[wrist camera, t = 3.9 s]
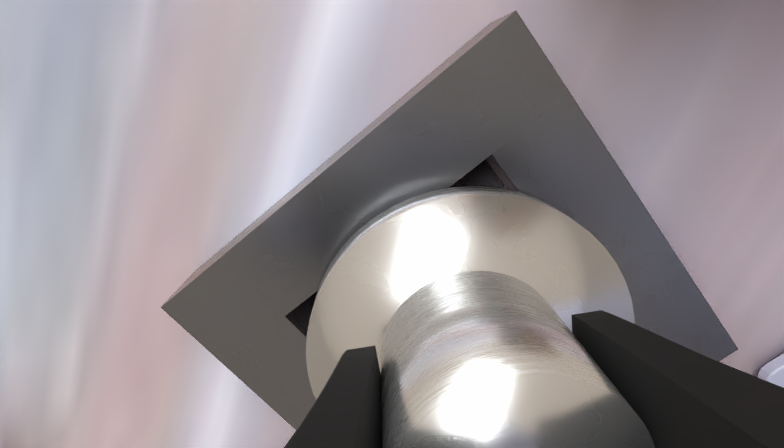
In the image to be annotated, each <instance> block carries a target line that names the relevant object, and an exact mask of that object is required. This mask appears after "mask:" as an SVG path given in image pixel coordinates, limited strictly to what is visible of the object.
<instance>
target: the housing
mask: <svg viewBox="0 0 784 448" xmlns="http://www.w3.org/2000/svg"><path fill="white" fill-rule="evenodd" d="M484 160H486V161H487V163H488V164H489V165H490V167H491V168H492V169H493V171H494V172H495V173H496V175H497V176H498V177H499V179H500V180H501V181H502V183H503V184H504V185H505V187H506V188H507V189H508V190H512V191H516V192H520V193H523V194H526V195H529V196H531V197H534V198H537V199H540V200H541V201H543V202H545V203H547V204H549V205H551V206H553V207H555V208H556V209H558V210H560V211H561V212H562V213H564V214H565V215H567V216H568V217H570V218H571V219H573V220H574V221H575V222H577V223H578V224H579V225H581V226H582V227H584V228H585V229H586V230H588V231H589V232H590V233H591V234H592V235H593V236H594V237H595V238H596V239H597V240H598V241H599V242H600V243H601V244H602V245H603V246H604V247H605V248H606V249H607V251H608V252H609V254H610V255H611V256H612V258H613V259H614V260H615V262H616V263H617V265H618V267H619V269H620V271H621V273H622V275H623V277H624V279H625V281H626V284H627V287H628V290H629V293H630V296H631V299H632V305H633V311H634V317H635V324H636V325H638V326H640V327H642V328H644V329H647V330H649V331H651V332H653V333H655V334H658V335H660V336H662V337H664V338H666V339H668V340H671V341H673V342H675V343H677V344H679V345H682V346H684V347H686V348H688V349H691V350H693V351H695V352H697V353H700V354H702V355H704V356H707V357H709V358H711V359H713V360H716V361H718V362H719V361H720V360H722V359H723V358H725V357H727V356H728V355H730V354H731V353H733V352H734V351H736V350H738V348H737V347H736V345H735V344H734V342H733V340H732V339H731V337H730V336H729V334H728V333H727V331H726V330H725V328H724V327H723V325H722V324H721V322H720V321H719V319H718V318H717V316H716V315H715V313H714V312H713V310H712V308H711V307H710V305H709V304H708V302H707V301H706V299H705V298H704V296H703V295H702V293H701V292H700V290H699V289H698V287H697V286H696V284H695V283H694V281H693V280H692V278H691V276H690V275H689V273H688V272H687V270H686V269H685V267H684V266H683V264H682V263H681V261H680V260H679V258H678V257H677V255H676V254H675V252H674V251H673V249H672V248H671V246H670V244H669V243H668V241H667V240H666V238H665V237H664V235H663V234H662V232H661V231H660V229H659V228H658V226H657V225H656V223H655V222H654V220H653V219H652V217H651V216H650V214H649V212H648V211H647V209H646V208H645V206H644V205H643V203H642V202H641V200H640V199H639V197H638V196H637V194H636V193H635V191H634V190H633V188H632V187H631V185H630V184H629V182H628V180H627V179H626V177H625V176H624V174H623V173H622V171H621V170H620V168H619V167H618V165H617V164H616V162H615V161H614V159H613V158H612V156H611V155H610V153H609V152H608V150H607V148H606V147H605V145H604V144H603V142H602V141H601V139H600V138H599V136H598V135H597V133H596V132H595V130H594V129H593V127H592V126H591V124H590V123H589V121H588V120H587V118H586V116H585V115H584V113H583V112H582V110H581V109H580V107H579V106H578V104H577V103H576V101H575V100H574V98H573V97H572V95H571V94H570V92H569V91H568V89H567V88H566V86H565V84H564V83H563V81H562V80H561V78H560V77H559V75H558V74H557V72H556V71H555V69H554V68H553V66H552V65H551V63H550V62H549V60H548V59H547V57H546V56H545V54H544V52H543V51H542V49H541V48H540V46H539V45H538V43H537V42H536V40H535V39H534V37H533V36H532V34H531V33H530V31H529V30H528V28H527V27H526V25H525V24H524V22H523V20H522V19H521V17H520V16H519V14H518V13H517V11H514V12H512V13H510V14H508V15H506V16H504V17H502V18H500V19H498V20H496V21H494V22H492V23H490V24H489V25H488V26H487V27H485V28H484V29H483V30H482V31H481V32H480V33H478V34H477V35H476V36H475V37H474V38H472V39H471V40H470V41H469V42H468V43H466V44H465V45H464V46H463V47H462V48H460V49H459V50H458V51H457V52H456V53H455V54H453V55H452V56H451V57H450V58H449V59H447V60H446V61H445V62H444V63H443V64H441V65H440V66H439V67H438V68H437V69H435V70H434V71H433V72H432V73H431V74H430V75H428V76H427V77H426V78H425V79H424V80H422V81H421V82H420V83H419V84H418V85H416V86H415V87H414V88H413V89H412V90H410V91H409V92H408V93H407V94H406V95H405V96H403V97H402V98H401V99H400V100H399V101H397V102H396V103H395V104H394V105H393V106H391V107H390V108H389V109H388V110H387V111H385V112H384V113H383V114H382V115H381V116H379V117H378V118H377V119H376V120H375V121H374V122H372V123H371V124H370V125H369V126H368V127H366V128H365V129H364V130H363V131H362V132H360V133H359V134H358V135H357V136H356V137H354V138H353V139H352V140H351V141H350V142H349V143H347V144H346V145H345V146H344V147H343V148H341V149H340V150H339V151H338V152H337V153H335V154H334V155H333V156H332V157H331V158H329V159H328V160H327V161H326V162H325V163H324V164H322V165H321V166H320V167H319V168H318V169H316V170H315V171H314V172H313V173H312V174H310V175H309V176H308V177H307V178H306V179H304V180H303V181H302V182H301V183H300V184H299V185H297V186H296V187H295V188H294V189H293V190H291V191H290V192H289V193H288V194H287V195H285V196H284V197H283V198H282V199H281V200H279V201H278V202H277V203H276V204H275V205H274V206H272V207H271V208H270V209H269V210H268V211H266V212H265V213H264V214H263V215H262V216H260V217H259V218H258V219H257V220H256V221H254V222H253V223H252V224H251V225H250V226H248V227H247V228H246V229H245V230H244V231H243V232H241V233H240V234H239V235H238V236H237V237H235V238H234V239H233V240H232V241H231V242H229V243H228V244H227V245H226V246H225V247H223V248H222V249H221V250H220V251H219V252H218V253H216V254H215V255H214V256H213V257H212V258H210V259H209V260H208V261H207V262H206V263H204V264H203V265H202V266H201V267H200V268H198V269H197V270H196V271H195V272H194V273H193V274H192V275H191V276H190V277H189V278H188V279H187V280H186V281H185V282H184V283H183V284H182V285H181V286H180V288H179V289H178V290H177V291H176V292H175V293H174V294H173V295H172V296H171V297H170V298H169V299H168V300H167V301H166V302H165V303H164V305H163V306H162V307H161V308H162V309H163V310H164V311H165V312H166V313H168V314H169V315H170V316H171V317H172V318H173V319H174V320H175V321H176V322H177V323H179V324H180V325H181V326H182V327H183V328H184V329H185V330H186V331H187V332H189V333H190V334H191V335H192V336H193V337H194V338H195V339H196V340H197V341H198V342H200V343H201V344H202V345H203V346H204V347H205V348H206V349H207V350H208V351H210V352H211V353H212V354H213V355H214V356H215V357H216V358H217V359H218V360H219V361H221V362H222V363H223V364H224V365H225V366H226V367H227V368H228V369H229V370H230V371H232V372H233V373H234V374H235V375H236V376H237V377H238V378H239V379H240V380H242V381H243V382H244V383H245V384H246V385H247V386H248V387H249V388H250V389H251V390H253V391H254V392H255V393H256V394H257V395H258V396H259V397H260V398H261V399H263V400H264V401H265V402H266V403H267V404H268V405H269V406H270V407H271V408H272V409H274V410H275V411H276V412H277V413H278V414H279V415H280V416H281V417H282V418H283V419H285V420H286V421H287V422H288V423H289V424H290V425H291V426H292V427H293V428H295V429H296V430H297V429H298V428H299V426H300V425H301V423H302V422H303V420H304V419H305V417H306V415H307V414H308V412H309V411H310V409H311V407H312V406H313V404H314V403H315V401H316V399H315V396H314V394H313V391H312V388H311V384H310V380H309V377H308V371H307V362H306V337H307V331H308V326H309V321H310V316H311V312H312V308H313V305H314V301H315V298H314V297H313V296H312V295H313V294H314V293H315V292H316V291H318V289H319V286H320V283H321V281H322V279H323V277H324V275H325V273H326V271H327V269H328V267H329V265H330V263H331V262H332V261H333V259H334V258H335V256H336V255H337V254H338V252H339V251H340V249H341V248H342V247H343V246H344V245H345V243H346V242H347V241H348V240H349V239H350V238H351V237H352V236H353V235H354V234H355V233H356V232H357V231H358V230H359V229H360V228H362V227H363V226H364V225H365V224H367V223H368V222H369V221H370V220H371V219H373V218H374V217H376V216H377V215H379V214H381V213H382V212H384V211H385V210H387V209H389V208H390V207H392V206H394V205H396V204H399V203H401V202H403V201H405V200H407V199H410V198H412V197H415V196H418V195H421V194H425V193H428V192H431V191H435V190H441V189H446V188H449V187H450V186H452V185H453V184H454V183H456V182H457V181H458V180H459V179H461V178H462V177H463V176H465V175H466V174H467V173H468V172H470V171H471V170H472V169H473V168H475V167H476V166H477V165H479V164H480V163H481V162H482V161H484Z"/></svg>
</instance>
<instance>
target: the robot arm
mask: <svg viewBox="0 0 784 448" xmlns="http://www.w3.org/2000/svg"><path fill="white" fill-rule="evenodd" d="M572 333H573V335H574V336H575V337H576V338H577V340H578V341H579V342H580V343H581V345H582V346H583V347H584V348H585V350H586V351H587V352H588V353H589V355H590V356H591V357H592V358H593V360H594V361H595V362H596V363H597V365H598V366H599V367H600V368H601V370H602V371H603V372H604V374H605V375H606V376H607V377H608V379H609V380H610V381H611V382H612V384H613V385H614V386H615V387H616V389H617V390H618V391H619V392H620V394H621V395H622V396H623V397H624V399H625V400H626V401H627V402H628V404H629V405H630V406H631V407H632V409H633V410H634V411H635V412H636V414H637V415H638V416H639V418H640V419H641V420H642V421H643V423H644V424H645V426H646V428H647V430H648V431H649V433H650V435H651V437H652V440H653V443H654V446H655V448H784V353H783V354H781V355H780V356H778V357H777V358H775V359H773V360H772V361H770V362H768V363H767V364H765V365H764V366H763V367H762V368H761V369H760V371H759V373H758V377H755V376H753V375H750V374H748V373H745V372H742V371H740V370H737V369H735V368H732V367H730V366H728V365H725V364H723V363H721V362H718V361H716V360H713V359H711V358H709V357H707V356H704V355H702V354H700V353H697V352H695V351H693V350H691V349H688V348H686V347H684V346H682V345H679V344H677V343H675V342H673V341H671V340H668V339H666V338H664V337H662V336H660V335H658V334H655V333H653V332H651V331H649V330H647V329H644V328H642V327H640V326H638V325H636V324H633V323H631V322H629V321H627V320H625V319H622V318H620V317H618V316H615V315H613V314H610V313H608V312H605V311H602V310H599V311H593V312H586V313H580V314H573V315H572ZM284 448H383V440H382V403H381V373H380V368H379V363H378V357H377V352H376V347H375V346H369V347H362V348H356V349H349V350H346V351H345V352H344V353H343V355H342V356H341V358H340V360H339V362H338V363H337V365H336V367H335V369H334V371H333V372H332V374H331V376H330V378H329V380H328V381H327V383H326V385H325V386H324V388H323V390H322V391H321V393H320V395H319V396H318V398H317V400H316V401H315V403H314V404H313V406H312V407H311V409H310V411H309V412H308V414H307V415H306V417H305V419H304V420H303V422H302V423H301V425H300V426H299V428H298V429H297V430H296V432H295V433H294V435H293V436H292V437H291V439H290V440H289V442H288V443H287V444H286V446H285V447H284Z"/></svg>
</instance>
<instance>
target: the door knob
mask: <svg viewBox="0 0 784 448" xmlns="http://www.w3.org/2000/svg"><path fill="white" fill-rule="evenodd" d="M599 310H602V311H605V312H608V313H610V314H613V315H615V316H618V317H620V318H622V319H625V320H627V321H629V322H631V323H633V324H635V317H634V311H633V305H632V299H631V296H630V293H629V290H628V287H627V284H626V281H625V279H624V277H623V275H622V273H621V271H620V269H619V267H618V265H617V263H616V262H615V260H614V259H613V258H612V256H611V255H610V254H609V252H608V251H607V249H606V248H605V247H604V246H603V245H602V244H601V243H600V242H599V241H598V240H597V239H596V238H595V237H594V236H593V235H592V234H591V233H590V232H589V231H588V230H586V229H585V228H584V227H582V226H581V225H579V224H578V223H577V222H575V221H574V220H573V219H571V218H570V217H568V216H567V215H565V214H564V213H562V212H561V211H560V210H558V209H556V208H555V207H553V206H551V205H549V204H547V203H545V202H543V201H541V200H540V199H537V198H534V197H531V196H529V195H526V194H523V193H520V192H516V191H512V190H507V189H503V188H497V187H484V186H465V187H452V188H446V189H441V190H435V191H431V192H428V193H425V194H421V195H418V196H415V197H412V198H410V199H407V200H405V201H403V202H401V203H399V204H396V205H394V206H392V207H390V208H389V209H387V210H385V211H384V212H382V213H381V214H379V215H377V216H376V217H374V218H373V219H371V220H370V221H369V222H368V223H367V224H365V225H364V226H363V227H362V228H360V229H359V230H358V231H357V232H356V233H355V234H354V235H353V236H352V237H351V238H350V239H349V240H348V241H347V242H346V243H345V245H344V246H343V247H342V248H341V249H340V251H339V252H338V254H337V255H336V256H335V258H334V259H333V261H332V262H331V263H330V265H329V267H328V269H327V271H326V273H325V275H324V277H323V279H322V281H321V283H320V286H319V289H318V292H317V295H316V298H315V301H314V305H313V308H312V312H311V316H310V321H309V326H308V331H307V337H306V362H307V371H308V377H309V380H310V384H311V388H312V391H313V394H314V396H315V399H316V400H317V398H318V396H319V395H320V393H321V391H322V390H323V388H324V386H325V385H326V383H327V381H328V380H329V378H330V376H331V374H332V372H333V371H334V369H335V367H336V365H337V363H338V362H339V360H340V358H341V356H342V355H343V353H344V352H345V351H346V350H349V349H356V348H362V347H369V346H375V347H376V352H377V357H378V363H379V368H380V373H381V403H382V440H383V448H655V446H654V443H653V440H652V437H651V435H650V433H649V431H648V430H647V428H646V426H645V424H644V423H643V421H642V420H641V419H640V418H639V416H638V415H637V414H636V412H635V411H634V410H633V409H632V407H631V406H630V405H629V404H628V402H627V401H626V400H625V399H624V397H623V396H622V395H621V394H620V392H619V391H618V390H617V389H616V387H615V386H614V385H613V384H612V382H611V381H610V380H609V379H608V377H607V376H606V375H605V374H604V372H603V371H602V370H601V368H600V367H599V366H598V365H597V363H596V362H595V361H594V360H593V358H592V357H591V356H590V355H589V353H588V352H587V351H586V350H585V348H584V347H583V346H582V345H581V343H580V342H579V341H578V340H577V338H576V337H575V336H574V335H573V333H572V315H573V314H580V313H586V312H593V311H599Z"/></svg>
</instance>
